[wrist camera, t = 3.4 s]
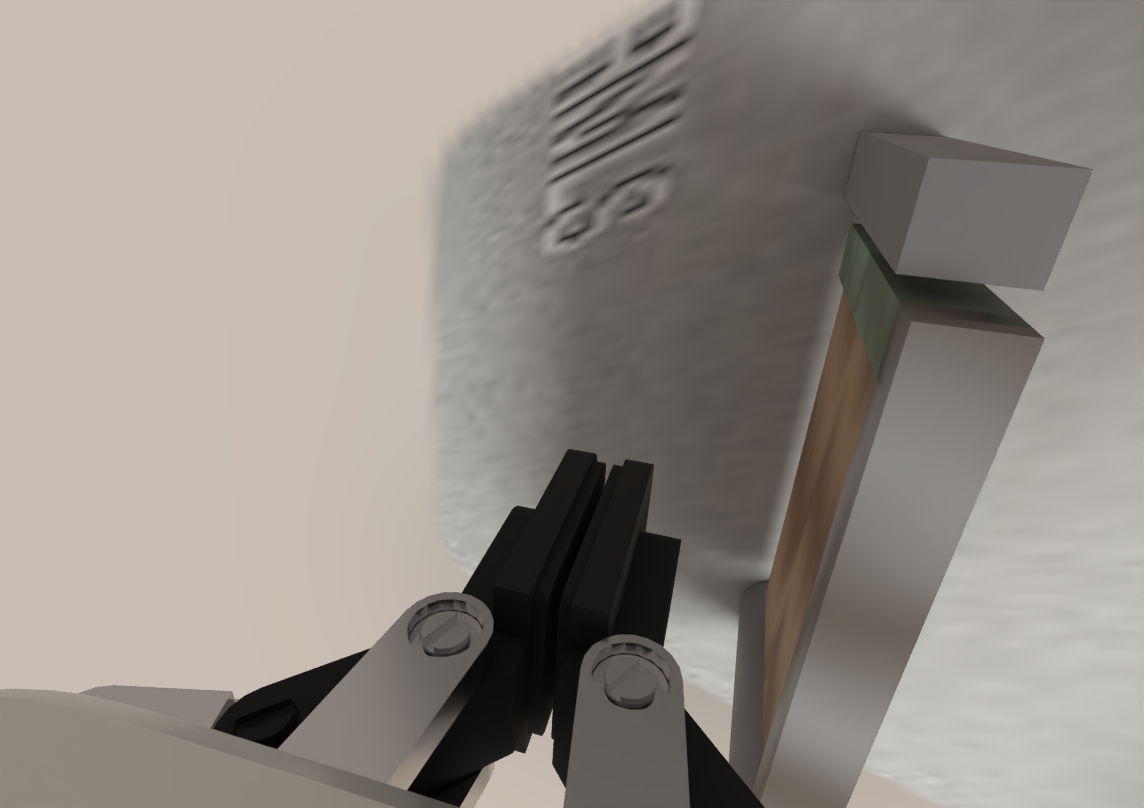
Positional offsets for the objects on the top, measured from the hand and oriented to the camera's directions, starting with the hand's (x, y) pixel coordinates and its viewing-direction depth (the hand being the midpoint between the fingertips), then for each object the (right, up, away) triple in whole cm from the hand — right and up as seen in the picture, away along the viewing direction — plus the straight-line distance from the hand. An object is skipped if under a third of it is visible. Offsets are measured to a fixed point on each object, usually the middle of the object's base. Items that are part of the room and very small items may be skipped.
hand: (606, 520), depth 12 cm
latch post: (+9, +10, +7) cm, 15 cm away
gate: (+8, +1, +10) cm, 13 cm away
